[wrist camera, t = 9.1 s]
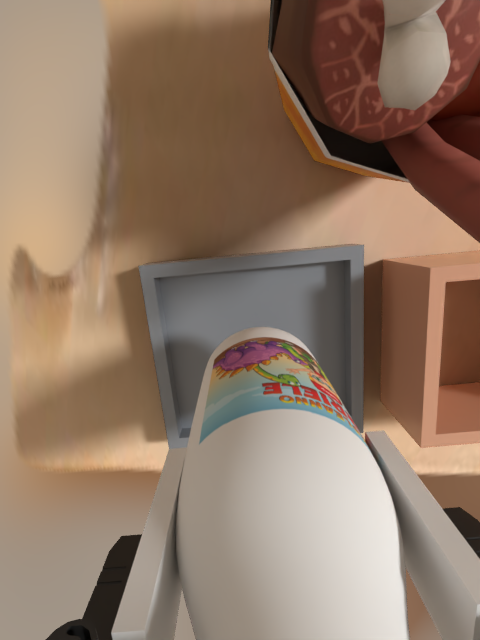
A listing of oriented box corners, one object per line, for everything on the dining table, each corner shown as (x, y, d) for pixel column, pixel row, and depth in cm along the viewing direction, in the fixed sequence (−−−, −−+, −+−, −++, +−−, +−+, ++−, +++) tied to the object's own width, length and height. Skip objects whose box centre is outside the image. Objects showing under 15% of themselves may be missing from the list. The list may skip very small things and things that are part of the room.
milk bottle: (288, 441, 24) (499, 1307, 5) (188, 405, 23) (-57, 1266, 4) (335, 348, 22) (1002, 1128, 3) (229, 306, 21) (154, 983, 2)
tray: (147, 263, 27) (138, 265, 25) (352, 243, 27) (363, 244, 25) (174, 432, 31) (169, 449, 29) (353, 417, 31) (363, 432, 29)
